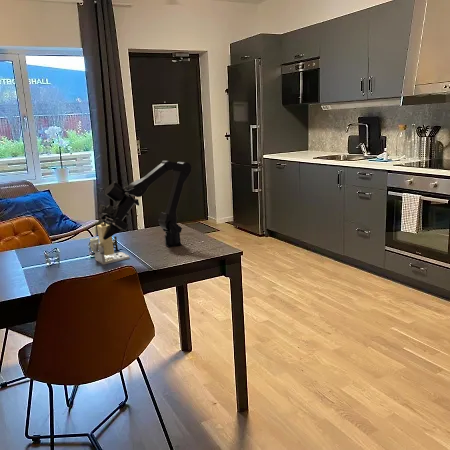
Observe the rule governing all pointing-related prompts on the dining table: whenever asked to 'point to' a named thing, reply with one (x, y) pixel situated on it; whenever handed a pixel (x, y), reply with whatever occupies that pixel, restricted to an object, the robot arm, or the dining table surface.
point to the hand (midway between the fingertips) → (102, 238)
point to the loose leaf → (105, 243)
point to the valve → (96, 240)
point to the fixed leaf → (109, 258)
